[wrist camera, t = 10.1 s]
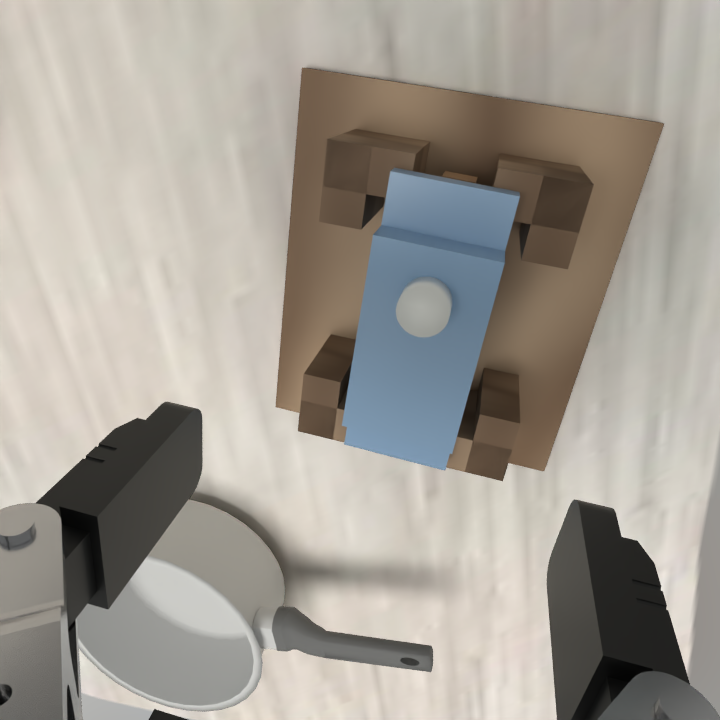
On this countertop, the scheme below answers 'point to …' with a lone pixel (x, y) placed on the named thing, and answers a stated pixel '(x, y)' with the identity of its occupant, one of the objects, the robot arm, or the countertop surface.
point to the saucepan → (213, 619)
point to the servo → (425, 313)
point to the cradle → (522, 255)
